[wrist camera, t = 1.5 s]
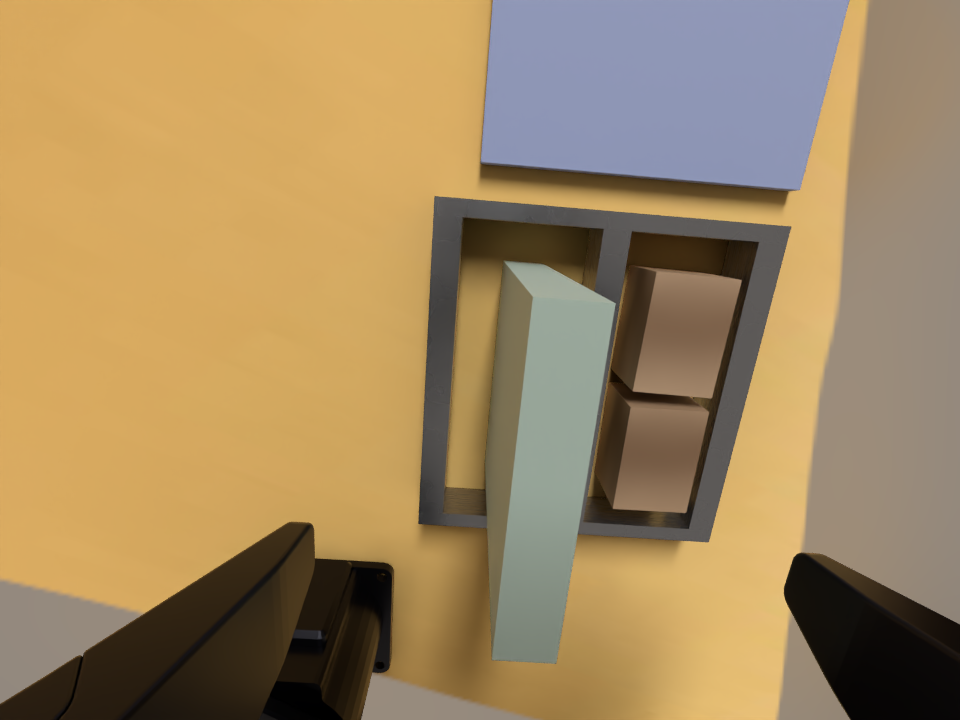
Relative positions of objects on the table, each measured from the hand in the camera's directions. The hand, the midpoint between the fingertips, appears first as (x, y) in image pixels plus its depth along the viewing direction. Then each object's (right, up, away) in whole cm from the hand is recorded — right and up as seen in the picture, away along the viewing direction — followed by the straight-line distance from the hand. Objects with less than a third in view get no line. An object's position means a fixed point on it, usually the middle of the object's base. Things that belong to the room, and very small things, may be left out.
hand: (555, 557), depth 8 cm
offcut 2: (+6, +1, +12) cm, 13 cm away
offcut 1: (+6, +5, +11) cm, 13 cm away
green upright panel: (0, +3, +11) cm, 12 cm away
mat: (+5, +15, +8) cm, 18 cm away
